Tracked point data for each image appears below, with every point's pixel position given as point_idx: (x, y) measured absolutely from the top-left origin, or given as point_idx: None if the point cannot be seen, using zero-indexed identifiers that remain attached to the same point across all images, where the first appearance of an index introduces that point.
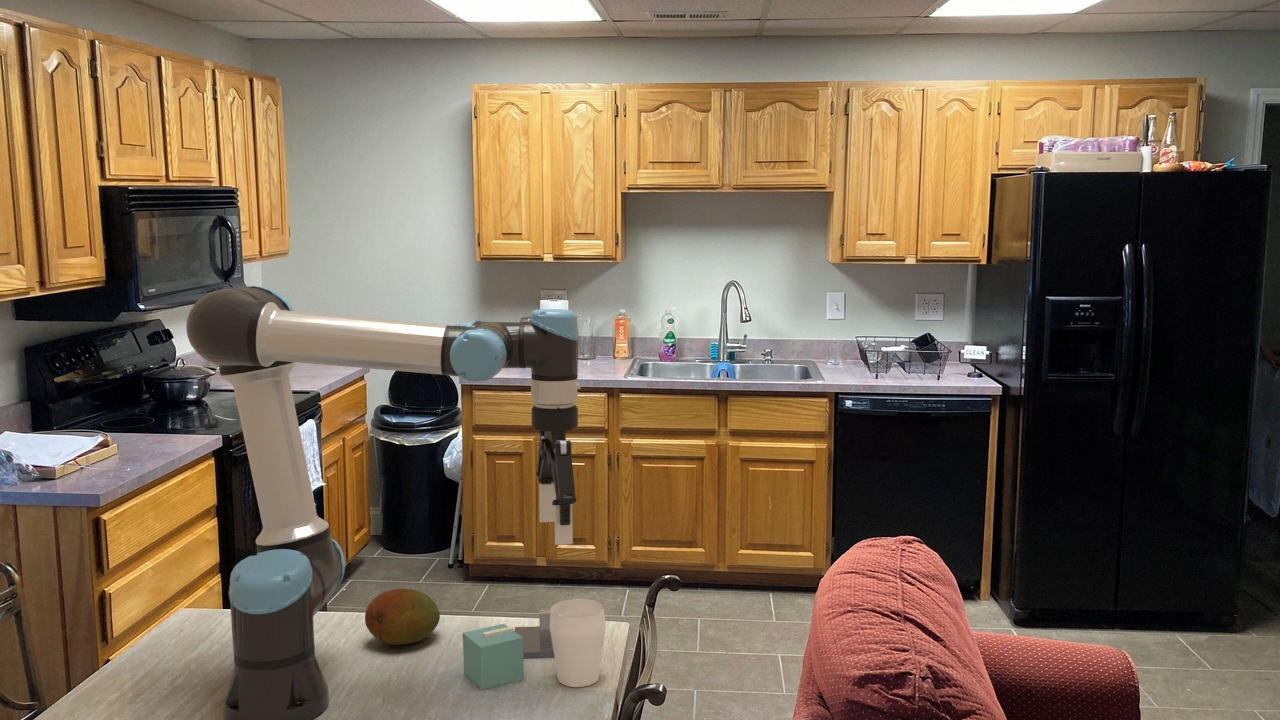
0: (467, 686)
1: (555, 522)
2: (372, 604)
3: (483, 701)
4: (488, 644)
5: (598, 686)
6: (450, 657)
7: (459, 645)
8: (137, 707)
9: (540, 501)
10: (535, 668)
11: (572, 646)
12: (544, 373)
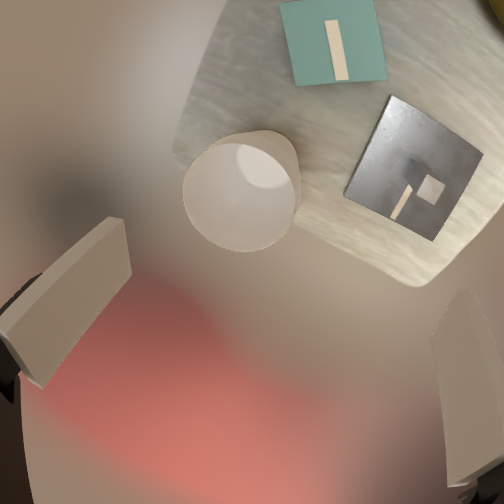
0: None
1: (54, 268)
2: None
3: (247, 14)
4: (288, 19)
5: None
6: (434, 21)
7: (473, 54)
8: None
9: (485, 366)
10: (334, 115)
11: (208, 155)
12: None
